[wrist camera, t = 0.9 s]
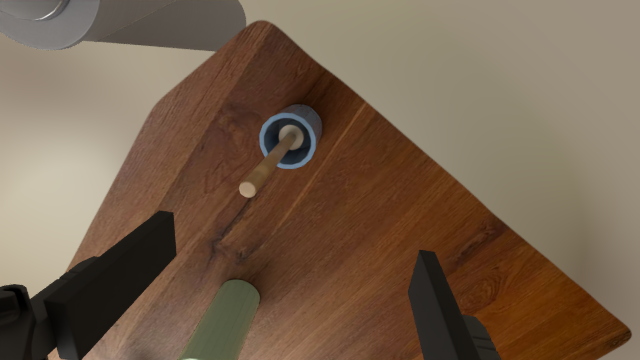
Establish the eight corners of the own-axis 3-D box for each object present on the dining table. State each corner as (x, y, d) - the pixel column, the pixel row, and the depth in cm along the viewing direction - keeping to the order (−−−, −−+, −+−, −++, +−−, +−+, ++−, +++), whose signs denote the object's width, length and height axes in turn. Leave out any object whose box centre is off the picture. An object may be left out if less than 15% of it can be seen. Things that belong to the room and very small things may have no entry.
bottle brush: (284, 121, 46) (219, 176, 24) (304, 114, 45) (257, 163, 23) (292, 142, 47) (238, 213, 25) (312, 135, 46) (275, 202, 24)
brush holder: (268, 113, 47) (250, 124, 38) (312, 96, 45) (302, 104, 37) (287, 156, 49) (273, 175, 40) (329, 141, 47) (324, 158, 39)
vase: (211, 284, 60) (160, 364, 44) (249, 274, 58) (210, 354, 42) (230, 316, 62) (188, 402, 47) (267, 308, 61) (236, 394, 45)
